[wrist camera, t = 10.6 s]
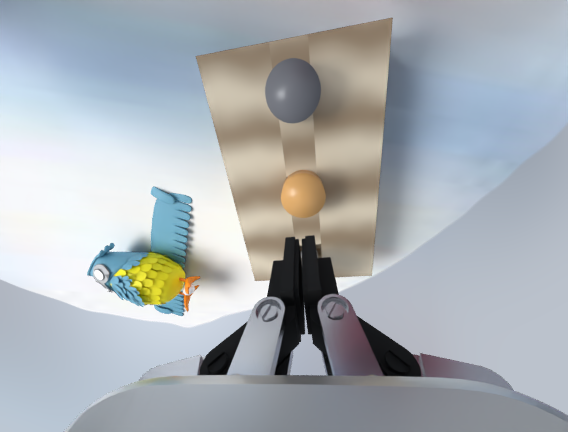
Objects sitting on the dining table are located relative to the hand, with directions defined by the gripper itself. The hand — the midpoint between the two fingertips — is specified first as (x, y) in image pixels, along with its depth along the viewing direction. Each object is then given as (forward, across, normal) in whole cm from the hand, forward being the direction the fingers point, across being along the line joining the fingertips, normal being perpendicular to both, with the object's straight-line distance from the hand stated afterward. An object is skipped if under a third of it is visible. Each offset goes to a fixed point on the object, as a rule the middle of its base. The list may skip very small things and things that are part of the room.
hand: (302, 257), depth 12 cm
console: (+17, 0, 0) cm, 17 cm away
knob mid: (+15, 0, 0) cm, 15 cm away
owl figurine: (+18, +25, +12) cm, 33 cm away
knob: (+15, 0, -9) cm, 17 cm away
